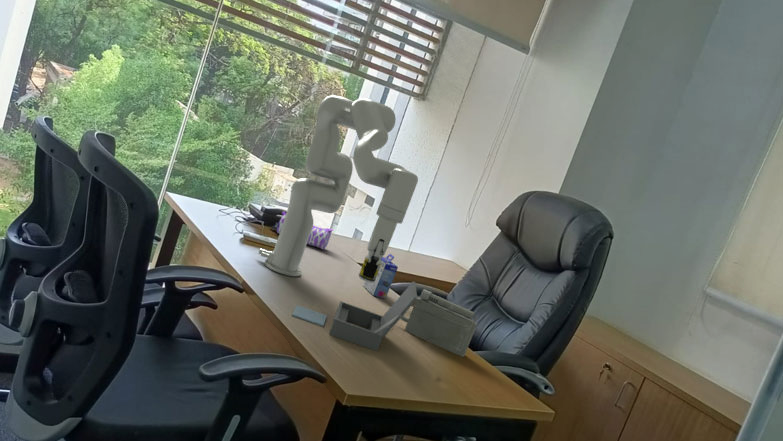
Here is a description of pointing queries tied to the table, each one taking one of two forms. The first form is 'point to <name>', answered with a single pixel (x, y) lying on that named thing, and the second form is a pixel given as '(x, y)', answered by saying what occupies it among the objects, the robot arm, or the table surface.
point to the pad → (309, 315)
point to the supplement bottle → (364, 268)
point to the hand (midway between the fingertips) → (368, 273)
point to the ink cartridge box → (382, 278)
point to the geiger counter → (441, 323)
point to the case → (370, 320)
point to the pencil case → (312, 234)
